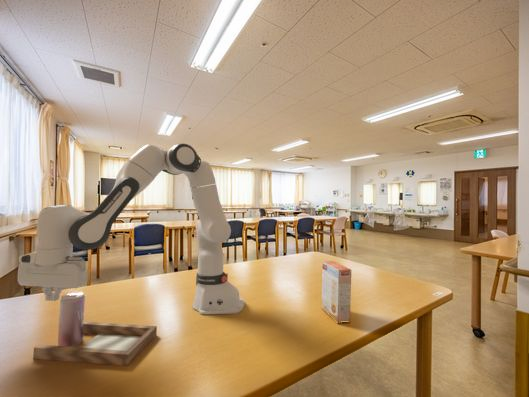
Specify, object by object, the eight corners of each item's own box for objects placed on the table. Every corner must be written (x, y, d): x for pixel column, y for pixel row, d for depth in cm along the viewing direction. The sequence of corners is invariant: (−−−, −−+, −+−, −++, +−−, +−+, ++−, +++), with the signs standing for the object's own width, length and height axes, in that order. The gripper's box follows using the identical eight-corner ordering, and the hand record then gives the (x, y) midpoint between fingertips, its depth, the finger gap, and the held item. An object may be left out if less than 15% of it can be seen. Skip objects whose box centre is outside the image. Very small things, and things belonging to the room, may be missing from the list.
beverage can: (67, 338, 76) (69, 291, 76) (87, 338, 76) (89, 291, 76) (52, 349, 70) (55, 298, 70) (73, 349, 70) (76, 298, 70)
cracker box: (351, 323, 91) (352, 269, 92) (336, 324, 90) (338, 269, 90) (333, 307, 105) (334, 260, 105) (320, 308, 104) (322, 260, 104)
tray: (156, 335, 79) (156, 326, 79) (127, 365, 64) (128, 354, 64) (78, 330, 81) (79, 321, 81) (33, 358, 66) (33, 347, 66)
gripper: (93, 255, 77) (91, 297, 76) (35, 252, 78) (32, 294, 77) (77, 259, 70) (74, 306, 70) (13, 256, 72) (11, 302, 71)
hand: (52, 300), depth 74 cm, fingers closed
